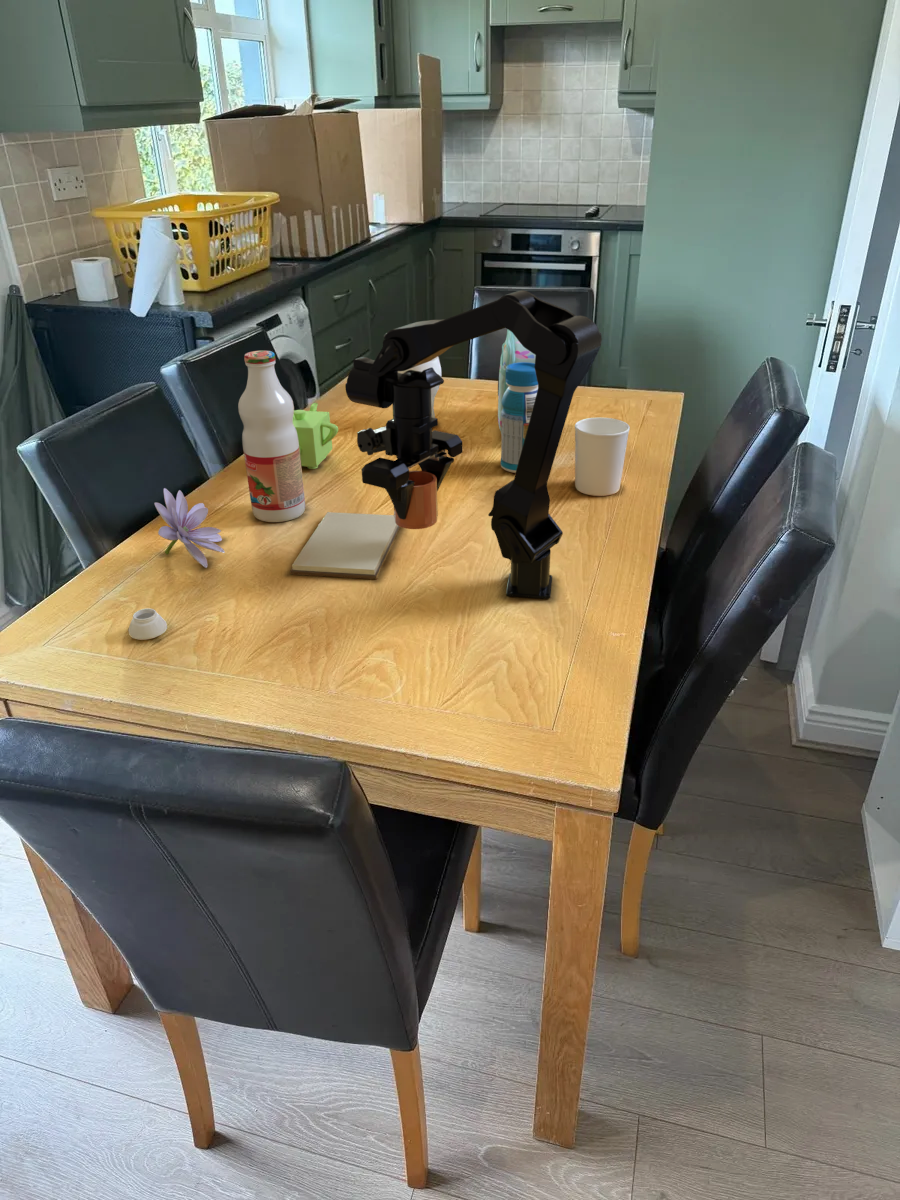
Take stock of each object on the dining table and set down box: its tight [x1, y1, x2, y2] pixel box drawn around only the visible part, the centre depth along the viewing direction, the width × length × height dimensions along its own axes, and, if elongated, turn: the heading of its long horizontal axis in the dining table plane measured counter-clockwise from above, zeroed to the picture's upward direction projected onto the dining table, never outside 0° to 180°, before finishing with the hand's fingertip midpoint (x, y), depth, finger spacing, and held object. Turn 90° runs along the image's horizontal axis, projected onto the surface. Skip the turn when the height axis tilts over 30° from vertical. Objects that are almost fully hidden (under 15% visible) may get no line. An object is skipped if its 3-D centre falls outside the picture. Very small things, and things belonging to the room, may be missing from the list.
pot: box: [393, 470, 439, 530], centre depth 131 cm, size 7×7×7 cm
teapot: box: [293, 402, 339, 470], centre depth 169 cm, size 15×13×11 cm
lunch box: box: [497, 329, 536, 434], centre depth 184 cm, size 27×10×21 cm, turn 178°
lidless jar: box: [128, 607, 168, 641], centre depth 115 cm, size 5×3×5 cm
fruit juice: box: [237, 350, 306, 523], centre depth 143 cm, size 9×9×28 cm
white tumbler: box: [574, 416, 631, 497], centre depth 155 cm, size 10×10×12 cm
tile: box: [289, 511, 402, 580], centre depth 137 cm, size 21×14×2 cm, turn 171°
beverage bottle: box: [500, 362, 538, 474], centre depth 163 cm, size 8×8×20 cm
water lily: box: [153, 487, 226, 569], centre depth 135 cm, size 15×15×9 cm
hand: (415, 510), depth 132 cm, fingers closed on pot, 7 cm apart
